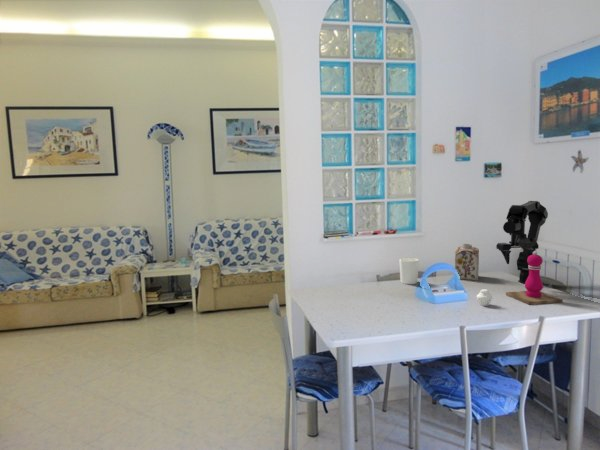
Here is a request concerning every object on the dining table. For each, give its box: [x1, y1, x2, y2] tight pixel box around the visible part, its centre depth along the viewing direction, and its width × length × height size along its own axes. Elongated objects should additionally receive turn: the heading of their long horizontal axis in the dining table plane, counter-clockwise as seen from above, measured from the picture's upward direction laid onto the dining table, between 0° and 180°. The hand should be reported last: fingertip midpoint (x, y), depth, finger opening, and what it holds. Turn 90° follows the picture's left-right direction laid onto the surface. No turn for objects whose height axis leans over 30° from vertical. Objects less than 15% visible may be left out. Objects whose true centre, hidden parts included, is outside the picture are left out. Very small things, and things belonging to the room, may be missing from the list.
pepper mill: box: [524, 250, 544, 297], centre depth 200 cm, size 7×7×20 cm
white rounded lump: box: [476, 288, 493, 307], centre depth 193 cm, size 6×6×7 cm
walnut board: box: [505, 290, 563, 306], centre depth 201 cm, size 16×16×1 cm
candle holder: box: [398, 257, 420, 285], centre depth 234 cm, size 10×10×12 cm
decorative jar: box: [454, 243, 480, 281], centre depth 242 cm, size 12×12×18 cm
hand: (516, 263), depth 218 cm, fingers open, 9 cm apart
